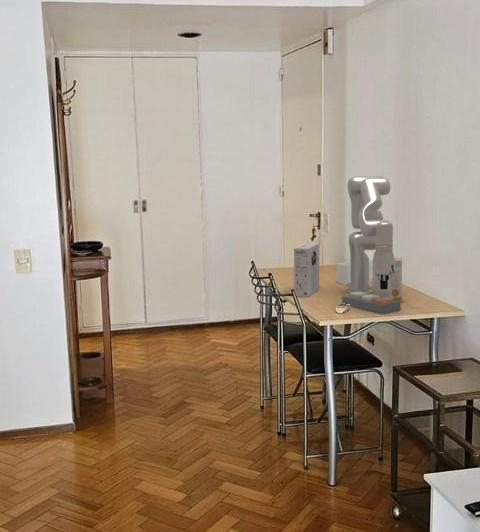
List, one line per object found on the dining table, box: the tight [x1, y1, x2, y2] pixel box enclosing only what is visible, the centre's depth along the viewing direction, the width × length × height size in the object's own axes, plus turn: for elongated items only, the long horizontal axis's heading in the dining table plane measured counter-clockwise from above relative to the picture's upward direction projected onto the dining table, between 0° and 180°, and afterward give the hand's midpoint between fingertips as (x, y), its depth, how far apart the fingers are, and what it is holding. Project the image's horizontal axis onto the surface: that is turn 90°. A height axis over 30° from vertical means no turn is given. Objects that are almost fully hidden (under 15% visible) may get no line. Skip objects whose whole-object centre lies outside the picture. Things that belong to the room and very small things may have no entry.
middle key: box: [362, 293, 380, 301], centre depth 325 cm, size 6×6×2 cm
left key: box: [349, 292, 368, 298], centre depth 331 cm, size 6×6×2 cm
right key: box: [374, 297, 393, 304], centre depth 318 cm, size 6×6×2 cm
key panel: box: [341, 294, 402, 315], centre depth 325 cm, size 26×12×4 cm, turn 35°
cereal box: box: [293, 242, 320, 298], centre depth 359 cm, size 22×8×25 cm, turn 159°
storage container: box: [336, 259, 373, 286], centre depth 386 cm, size 25×11×11 cm, turn 111°
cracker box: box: [371, 257, 403, 303], centre depth 337 cm, size 14×6×21 cm, turn 77°
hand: (383, 289), depth 317 cm, fingers closed
